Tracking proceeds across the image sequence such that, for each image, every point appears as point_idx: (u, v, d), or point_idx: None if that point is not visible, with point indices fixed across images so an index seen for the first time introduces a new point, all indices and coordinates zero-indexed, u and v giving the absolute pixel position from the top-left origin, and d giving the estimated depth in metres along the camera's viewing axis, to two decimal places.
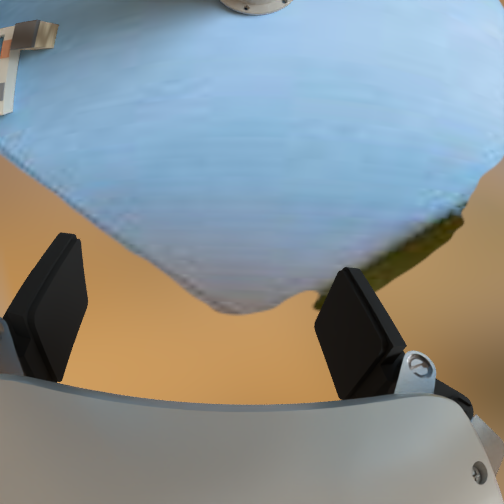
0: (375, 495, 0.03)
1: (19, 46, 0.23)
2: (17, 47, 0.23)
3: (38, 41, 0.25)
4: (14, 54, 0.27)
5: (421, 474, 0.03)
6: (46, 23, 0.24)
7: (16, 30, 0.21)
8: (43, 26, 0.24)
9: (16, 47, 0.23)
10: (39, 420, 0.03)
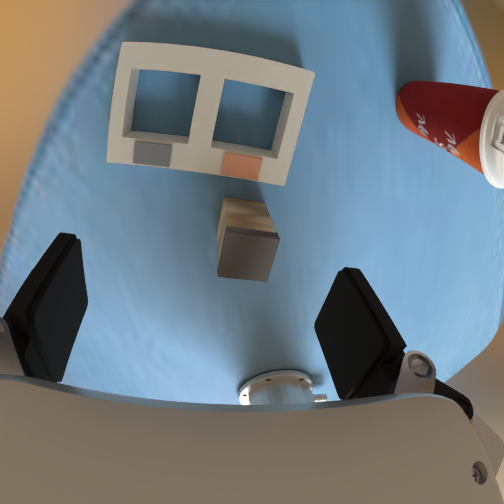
0: (375, 495, 0.03)
1: (226, 253, 0.23)
2: (226, 249, 0.23)
3: None
4: None
5: (421, 474, 0.03)
6: None
7: (263, 244, 0.23)
8: None
9: (226, 247, 0.23)
10: (39, 420, 0.03)
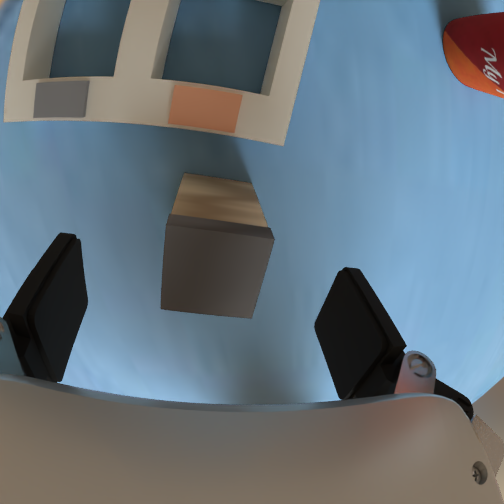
0: (375, 495, 0.03)
1: (171, 267, 0.12)
2: (168, 260, 0.11)
3: None
4: None
5: (421, 474, 0.03)
6: None
7: (241, 248, 0.12)
8: None
9: (169, 255, 0.11)
10: (39, 420, 0.03)
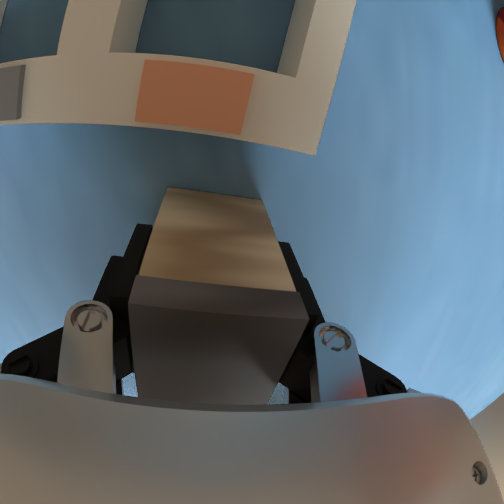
0: (375, 495, 0.03)
1: (145, 357, 0.07)
2: (140, 348, 0.07)
3: None
4: None
5: (421, 474, 0.03)
6: None
7: (255, 334, 0.07)
8: None
9: (141, 343, 0.07)
10: (39, 420, 0.03)
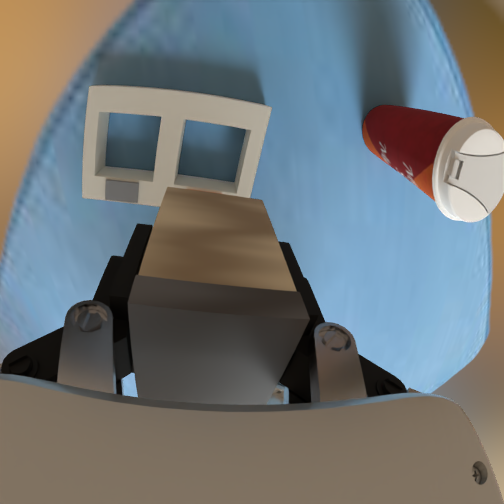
0: (375, 495, 0.03)
1: (145, 357, 0.07)
2: (140, 349, 0.07)
3: None
4: None
5: (421, 474, 0.03)
6: None
7: (255, 334, 0.07)
8: None
9: (140, 343, 0.07)
10: (39, 420, 0.03)
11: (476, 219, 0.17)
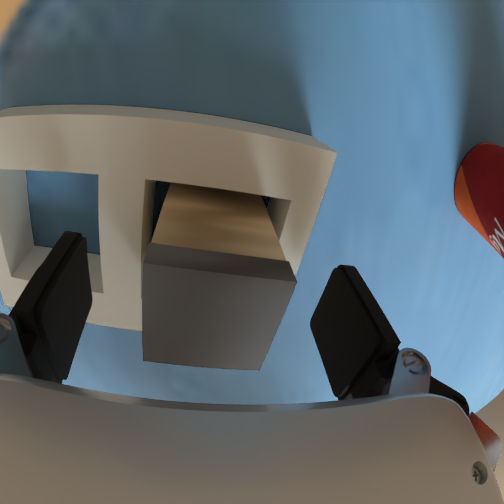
0: (375, 495, 0.03)
1: (153, 316, 0.08)
2: (149, 307, 0.08)
3: None
4: None
5: (421, 474, 0.03)
6: None
7: (250, 294, 0.08)
8: None
9: (150, 302, 0.08)
10: (39, 420, 0.03)
11: None
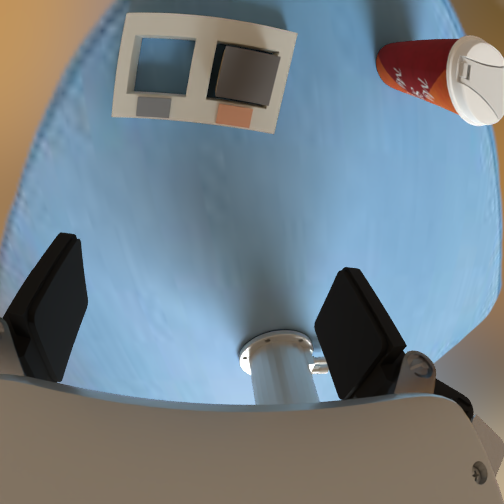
0: (375, 495, 0.03)
1: (225, 69, 0.19)
2: (225, 64, 0.19)
3: None
4: None
5: (421, 474, 0.03)
6: None
7: (264, 60, 0.19)
8: None
9: (226, 62, 0.19)
10: (39, 420, 0.03)
11: (489, 122, 0.16)
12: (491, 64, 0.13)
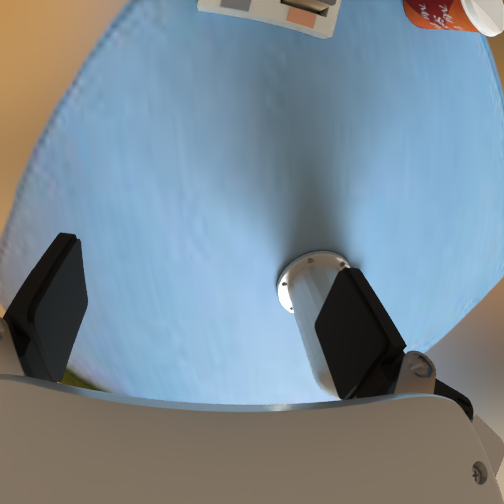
0: (375, 495, 0.03)
1: None
2: None
3: None
4: (286, 25, 0.26)
5: (421, 474, 0.03)
6: (323, 7, 0.23)
7: None
8: (319, 5, 0.23)
9: None
10: (39, 420, 0.03)
11: (494, 30, 0.16)
12: None
